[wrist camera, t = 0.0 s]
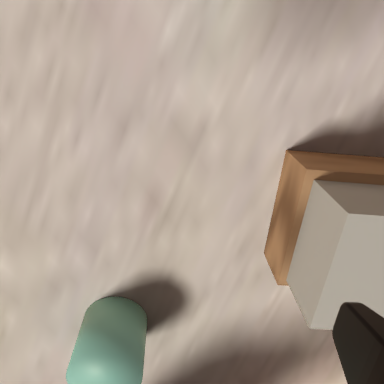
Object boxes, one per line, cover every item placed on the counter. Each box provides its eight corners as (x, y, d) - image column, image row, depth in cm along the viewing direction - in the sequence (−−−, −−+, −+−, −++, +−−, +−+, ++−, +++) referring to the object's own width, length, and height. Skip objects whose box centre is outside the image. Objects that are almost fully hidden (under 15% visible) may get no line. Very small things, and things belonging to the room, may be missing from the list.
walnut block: (362, 254, 26) (394, 289, 22) (262, 250, 25) (277, 285, 22) (398, 156, 23) (441, 179, 19) (284, 148, 22) (306, 169, 18)
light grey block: (388, 285, 22) (430, 333, 18) (286, 280, 21) (309, 329, 18) (429, 189, 19) (490, 223, 16) (313, 179, 19) (348, 213, 15)
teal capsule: (146, 343, 28) (141, 402, 23) (85, 342, 28) (68, 402, 23) (148, 297, 26) (143, 351, 21) (82, 295, 26) (63, 350, 21)
